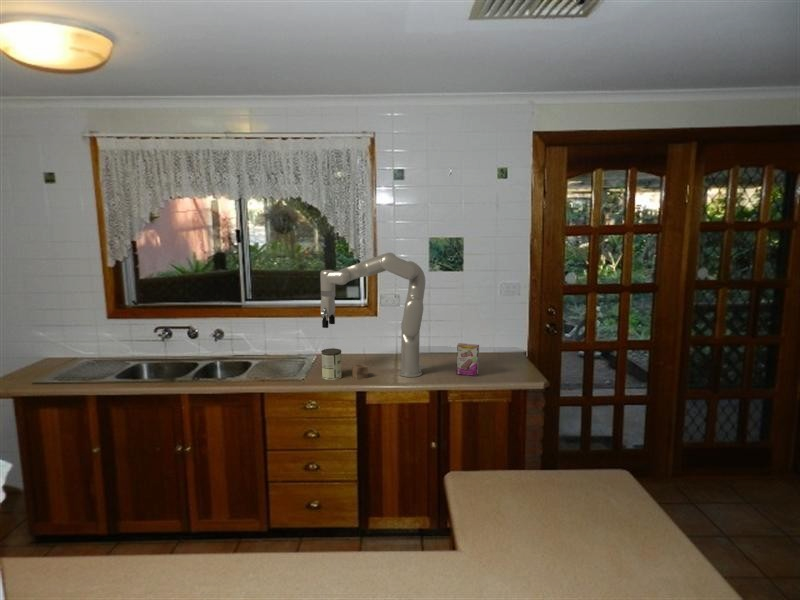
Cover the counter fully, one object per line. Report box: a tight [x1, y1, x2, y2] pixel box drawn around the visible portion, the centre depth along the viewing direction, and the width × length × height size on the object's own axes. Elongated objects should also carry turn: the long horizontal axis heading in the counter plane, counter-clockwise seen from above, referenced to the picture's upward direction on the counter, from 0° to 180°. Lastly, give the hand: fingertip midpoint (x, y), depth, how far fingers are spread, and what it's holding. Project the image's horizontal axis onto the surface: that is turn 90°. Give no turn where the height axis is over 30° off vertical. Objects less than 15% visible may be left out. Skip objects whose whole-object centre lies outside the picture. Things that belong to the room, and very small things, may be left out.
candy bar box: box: [455, 342, 480, 377], centre depth 270 cm, size 11×5×16 cm, turn 74°
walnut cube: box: [352, 363, 369, 380], centre depth 266 cm, size 6×6×6 cm
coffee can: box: [321, 347, 343, 381], centre depth 265 cm, size 10×10×14 cm
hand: (328, 325), depth 269 cm, fingers open, 9 cm apart
